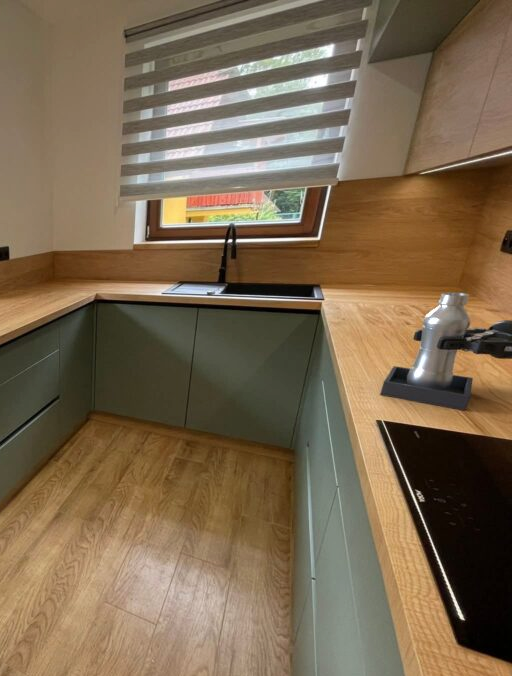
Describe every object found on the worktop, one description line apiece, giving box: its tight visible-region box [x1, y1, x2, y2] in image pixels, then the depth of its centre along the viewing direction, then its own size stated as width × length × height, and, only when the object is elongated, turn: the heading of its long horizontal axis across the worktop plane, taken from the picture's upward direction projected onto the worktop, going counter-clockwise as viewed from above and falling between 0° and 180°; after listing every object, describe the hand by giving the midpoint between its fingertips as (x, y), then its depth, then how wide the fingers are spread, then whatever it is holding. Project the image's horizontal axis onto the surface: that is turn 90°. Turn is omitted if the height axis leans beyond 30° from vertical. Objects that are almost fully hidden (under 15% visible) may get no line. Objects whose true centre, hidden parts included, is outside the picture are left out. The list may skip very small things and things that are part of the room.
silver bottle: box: [407, 292, 471, 391], centre depth 86 cm, size 6×7×20 cm
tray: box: [379, 365, 474, 412], centre depth 89 cm, size 13×12×3 cm
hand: (427, 339), depth 86 cm, fingers closed on silver bottle, 6 cm apart
